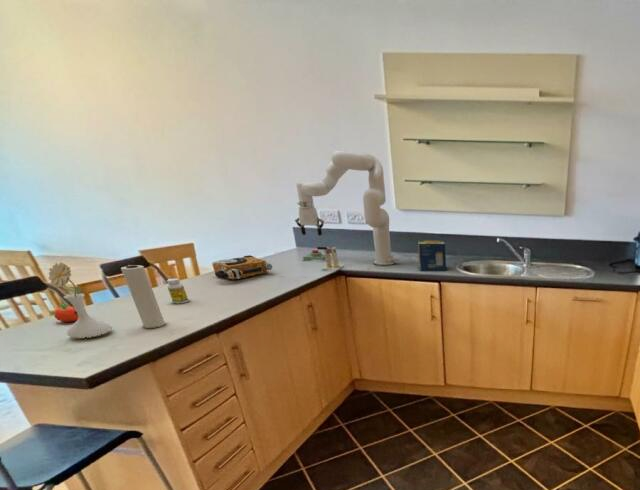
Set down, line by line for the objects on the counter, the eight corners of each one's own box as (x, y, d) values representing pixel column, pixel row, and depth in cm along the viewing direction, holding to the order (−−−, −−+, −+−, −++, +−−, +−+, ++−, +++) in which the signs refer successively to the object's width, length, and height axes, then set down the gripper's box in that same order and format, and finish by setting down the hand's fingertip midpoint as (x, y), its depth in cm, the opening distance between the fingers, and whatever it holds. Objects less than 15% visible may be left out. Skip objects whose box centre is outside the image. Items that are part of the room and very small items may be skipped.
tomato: (82, 316, 158) (74, 299, 155) (86, 321, 153) (78, 304, 150) (56, 320, 153) (47, 303, 150) (59, 325, 148) (50, 308, 145)
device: (278, 258, 221) (221, 268, 197) (282, 274, 225) (226, 285, 201) (252, 253, 230) (194, 262, 207) (256, 268, 234) (199, 278, 210)
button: (319, 252, 261) (319, 250, 260) (317, 254, 258) (316, 251, 257) (314, 252, 261) (313, 249, 260) (311, 253, 258) (311, 250, 257)
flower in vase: (64, 336, 140) (26, 260, 129) (107, 327, 149) (76, 255, 137) (77, 345, 134) (38, 267, 123) (121, 335, 143) (89, 261, 131)
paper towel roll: (161, 327, 150) (138, 268, 140) (141, 329, 148) (116, 268, 138) (169, 321, 156) (148, 263, 146) (150, 322, 154) (127, 264, 144)
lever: (326, 250, 225) (326, 245, 224) (317, 250, 225) (316, 245, 224) (335, 253, 237) (335, 249, 236) (327, 253, 237) (326, 249, 236)
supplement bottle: (189, 299, 180) (182, 277, 176) (187, 303, 176) (179, 280, 171) (174, 300, 178) (166, 278, 174) (171, 304, 174) (163, 281, 169)
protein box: (419, 267, 251) (417, 240, 244) (444, 266, 255) (443, 240, 248) (420, 271, 242) (418, 243, 235) (446, 270, 246) (445, 243, 239)
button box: (329, 258, 265) (328, 251, 264) (322, 261, 257) (321, 254, 255) (310, 257, 265) (309, 250, 264) (303, 260, 257) (302, 253, 255)
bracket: (336, 271, 235) (333, 249, 230) (322, 270, 235) (318, 249, 230) (343, 267, 244) (340, 246, 239) (329, 266, 244) (326, 246, 239)
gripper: (289, 204, 242) (295, 235, 250) (318, 206, 243) (323, 236, 251) (295, 203, 249) (300, 233, 257) (324, 205, 249) (328, 234, 257)
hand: (312, 235), depth 254 cm, fingers open, 9 cm apart
